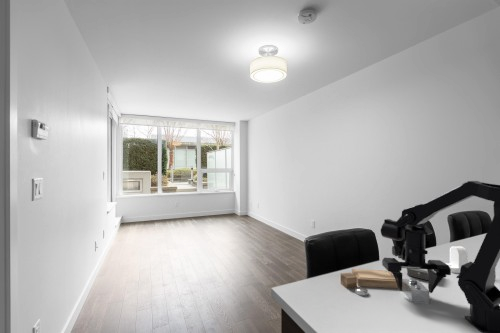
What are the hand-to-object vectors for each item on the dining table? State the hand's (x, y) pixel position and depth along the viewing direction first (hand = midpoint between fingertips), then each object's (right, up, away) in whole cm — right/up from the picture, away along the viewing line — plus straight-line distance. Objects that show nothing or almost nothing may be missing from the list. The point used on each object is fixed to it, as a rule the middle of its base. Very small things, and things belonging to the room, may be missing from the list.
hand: (415, 291), depth 82 cm
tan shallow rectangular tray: (-8, -2, +11) cm, 14 cm away
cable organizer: (+33, -2, +21) cm, 39 cm away
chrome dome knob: (-17, -2, +3) cm, 17 cm away
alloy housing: (0, -2, 0) cm, 2 cm away
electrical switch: (+16, -2, +14) cm, 21 cm away
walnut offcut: (-19, -2, +8) cm, 21 cm away
